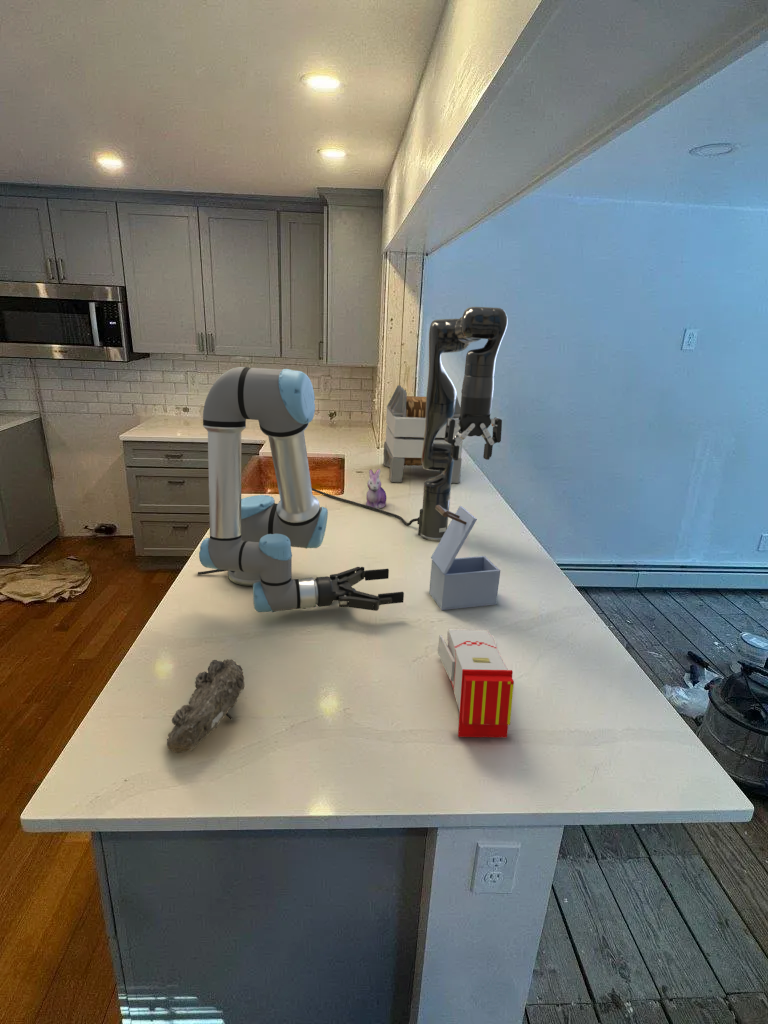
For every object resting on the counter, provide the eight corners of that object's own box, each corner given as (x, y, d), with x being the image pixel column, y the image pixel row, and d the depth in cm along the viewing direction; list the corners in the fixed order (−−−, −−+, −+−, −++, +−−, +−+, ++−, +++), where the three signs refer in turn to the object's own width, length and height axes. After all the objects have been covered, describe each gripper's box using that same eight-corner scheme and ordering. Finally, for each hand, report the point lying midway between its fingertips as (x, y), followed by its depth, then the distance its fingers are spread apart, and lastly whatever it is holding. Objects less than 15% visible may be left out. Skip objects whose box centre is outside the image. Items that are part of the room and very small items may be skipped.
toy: (488, 613, 130) (523, 677, 101) (484, 667, 133) (517, 744, 104) (435, 612, 130) (455, 676, 101) (432, 666, 133) (451, 743, 103)
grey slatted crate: (382, 463, 289) (386, 382, 275) (445, 464, 293) (451, 384, 279) (390, 482, 257) (394, 392, 243) (460, 483, 261) (468, 394, 247)
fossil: (192, 660, 117) (244, 628, 112) (224, 691, 120) (276, 661, 115) (142, 746, 98) (202, 712, 93) (182, 779, 101) (242, 748, 96)
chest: (481, 588, 163) (484, 555, 160) (496, 604, 155) (500, 570, 151) (429, 593, 159) (431, 559, 156) (441, 610, 150) (444, 575, 147)
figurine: (370, 511, 220) (372, 474, 215) (359, 503, 229) (360, 467, 224) (392, 508, 224) (394, 471, 219) (380, 500, 233) (381, 465, 228)
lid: (462, 506, 153) (437, 495, 149) (477, 519, 144) (451, 507, 141) (433, 558, 156) (408, 548, 152) (446, 574, 147) (420, 563, 144)
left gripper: (308, 583, 156) (382, 576, 162) (324, 631, 134) (409, 621, 140) (308, 558, 154) (383, 552, 160) (324, 602, 131) (411, 594, 137)
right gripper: (455, 396, 132) (450, 464, 138) (510, 396, 136) (503, 462, 141) (444, 392, 139) (439, 456, 144) (497, 392, 143) (490, 455, 148)
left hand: (395, 584), depth 150 cm, fingers open, 13 cm apart
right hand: (470, 459), depth 143 cm, fingers open, 8 cm apart
